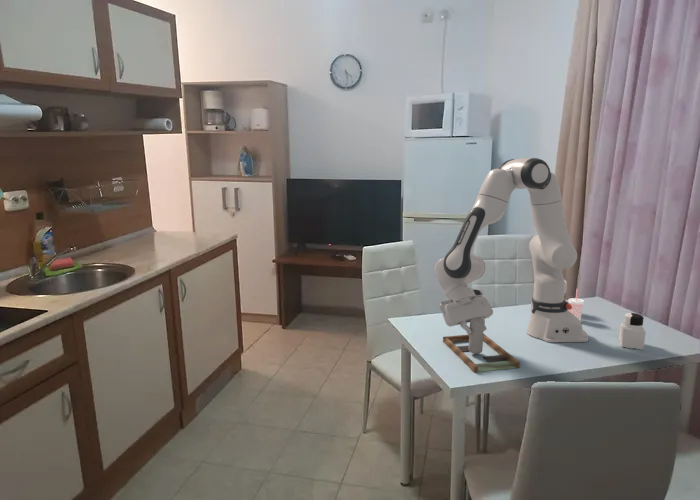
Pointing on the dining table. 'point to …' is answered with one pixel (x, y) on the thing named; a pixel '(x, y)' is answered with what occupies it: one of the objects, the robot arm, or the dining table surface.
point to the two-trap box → (494, 361)
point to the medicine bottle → (632, 331)
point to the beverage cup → (576, 306)
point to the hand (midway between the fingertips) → (477, 331)
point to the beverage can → (476, 335)
